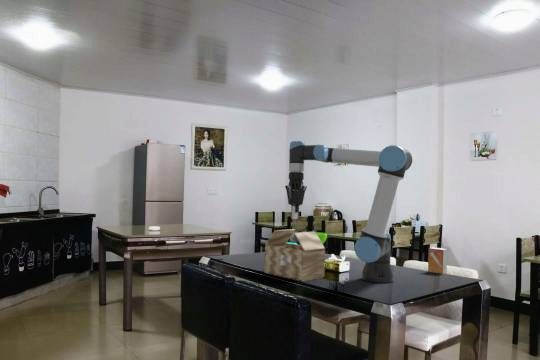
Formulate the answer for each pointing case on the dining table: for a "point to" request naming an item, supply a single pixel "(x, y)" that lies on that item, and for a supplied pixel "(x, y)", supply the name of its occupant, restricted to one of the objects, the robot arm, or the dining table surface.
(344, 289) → the dining table surface
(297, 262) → the carton
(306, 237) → the near flap
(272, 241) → the far flap
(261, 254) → the dining table surface
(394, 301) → the dining table surface
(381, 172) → the robot arm
